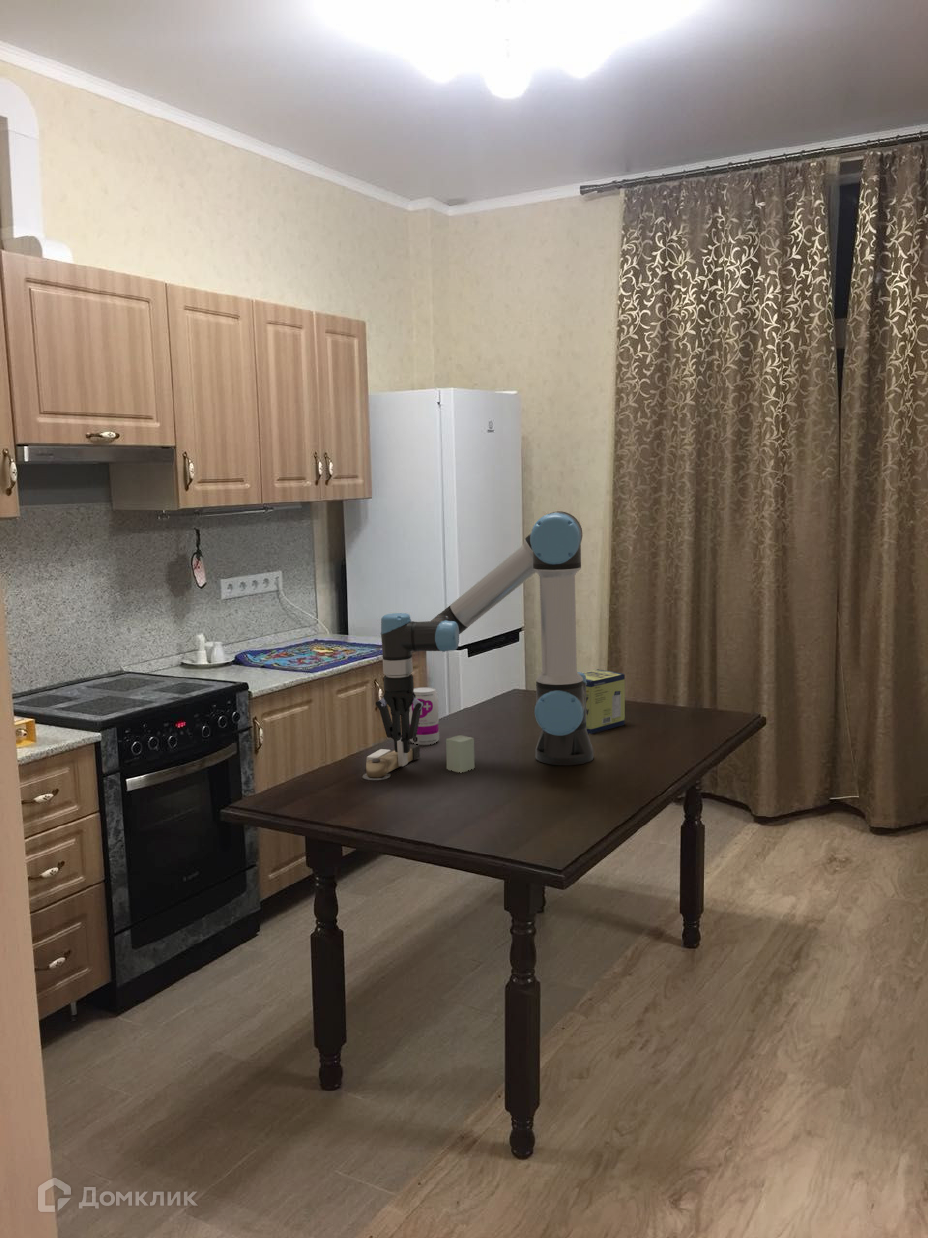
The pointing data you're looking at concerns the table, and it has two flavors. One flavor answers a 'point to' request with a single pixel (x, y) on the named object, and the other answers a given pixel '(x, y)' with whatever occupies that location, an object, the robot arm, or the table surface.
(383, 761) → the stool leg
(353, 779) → the table surface
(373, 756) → the stop block
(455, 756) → the tall sage green block
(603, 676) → the protein box
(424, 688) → the supplement can
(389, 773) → the pivot plate
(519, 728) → the table surface
